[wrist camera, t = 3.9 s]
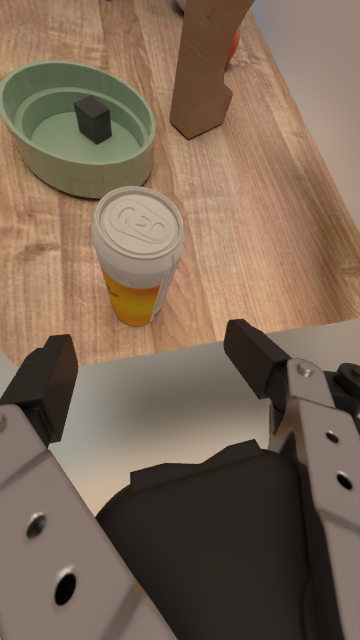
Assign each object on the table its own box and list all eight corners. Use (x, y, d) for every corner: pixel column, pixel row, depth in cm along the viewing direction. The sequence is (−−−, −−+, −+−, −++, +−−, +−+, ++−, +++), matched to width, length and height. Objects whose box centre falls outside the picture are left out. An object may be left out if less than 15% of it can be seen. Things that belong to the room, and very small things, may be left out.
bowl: (67, 220, 27) (52, 183, 22) (-6, 123, 29) (-36, 68, 24) (174, 178, 34) (181, 142, 29) (109, 101, 35) (105, 54, 30)
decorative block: (205, 106, 41) (265, -120, 22) (224, 125, 41) (300, -89, 22) (167, 120, 37) (201, -138, 19) (187, 141, 37) (242, -101, 18)
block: (96, 145, 31) (92, 118, 28) (79, 131, 31) (73, 102, 28) (112, 136, 32) (109, 109, 29) (95, 123, 32) (91, 94, 29)
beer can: (126, 276, 27) (119, 165, 13) (167, 296, 27) (202, 210, 13) (104, 314, 25) (65, 231, 11) (148, 335, 25) (165, 282, 11)
